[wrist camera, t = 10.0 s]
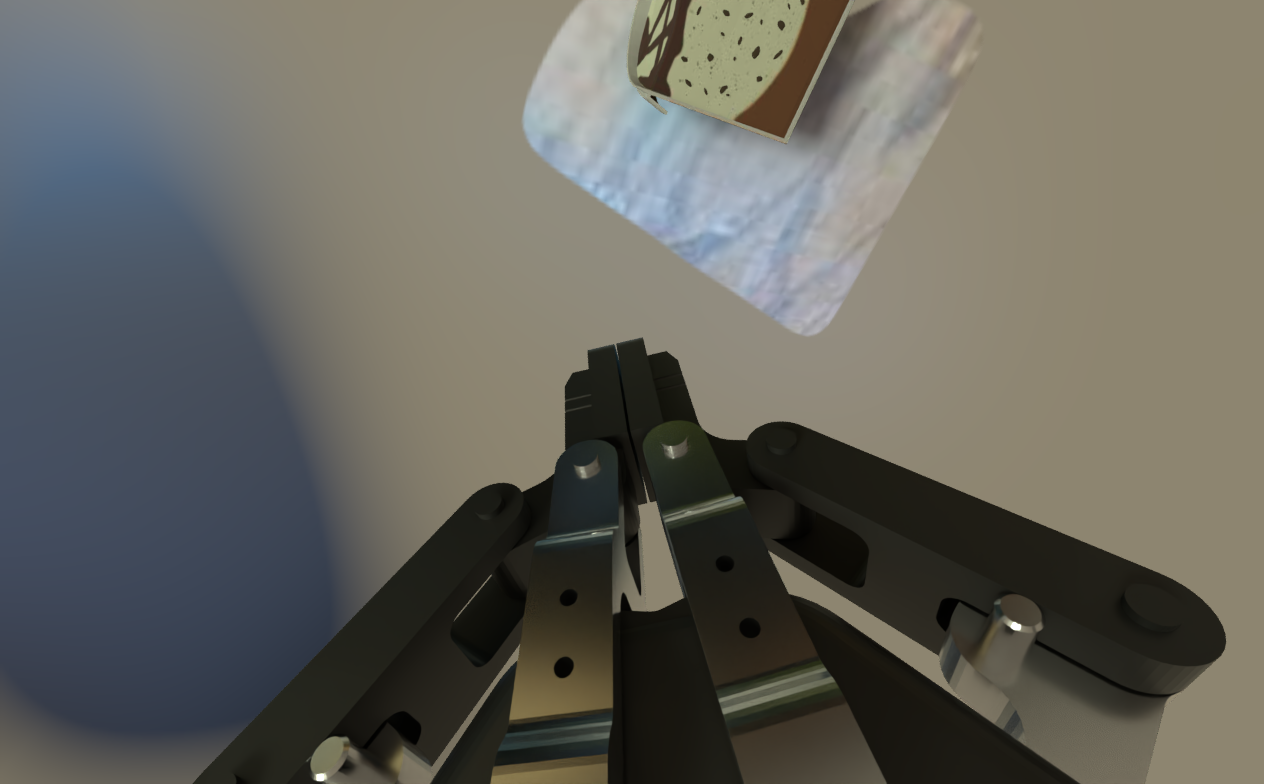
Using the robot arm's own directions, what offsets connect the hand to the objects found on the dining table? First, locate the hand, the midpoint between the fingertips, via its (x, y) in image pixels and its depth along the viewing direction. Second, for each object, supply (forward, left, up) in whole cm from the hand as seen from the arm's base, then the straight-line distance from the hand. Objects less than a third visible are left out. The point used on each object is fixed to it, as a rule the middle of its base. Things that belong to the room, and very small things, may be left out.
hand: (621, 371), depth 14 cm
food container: (-2, +14, -25) cm, 29 cm away
